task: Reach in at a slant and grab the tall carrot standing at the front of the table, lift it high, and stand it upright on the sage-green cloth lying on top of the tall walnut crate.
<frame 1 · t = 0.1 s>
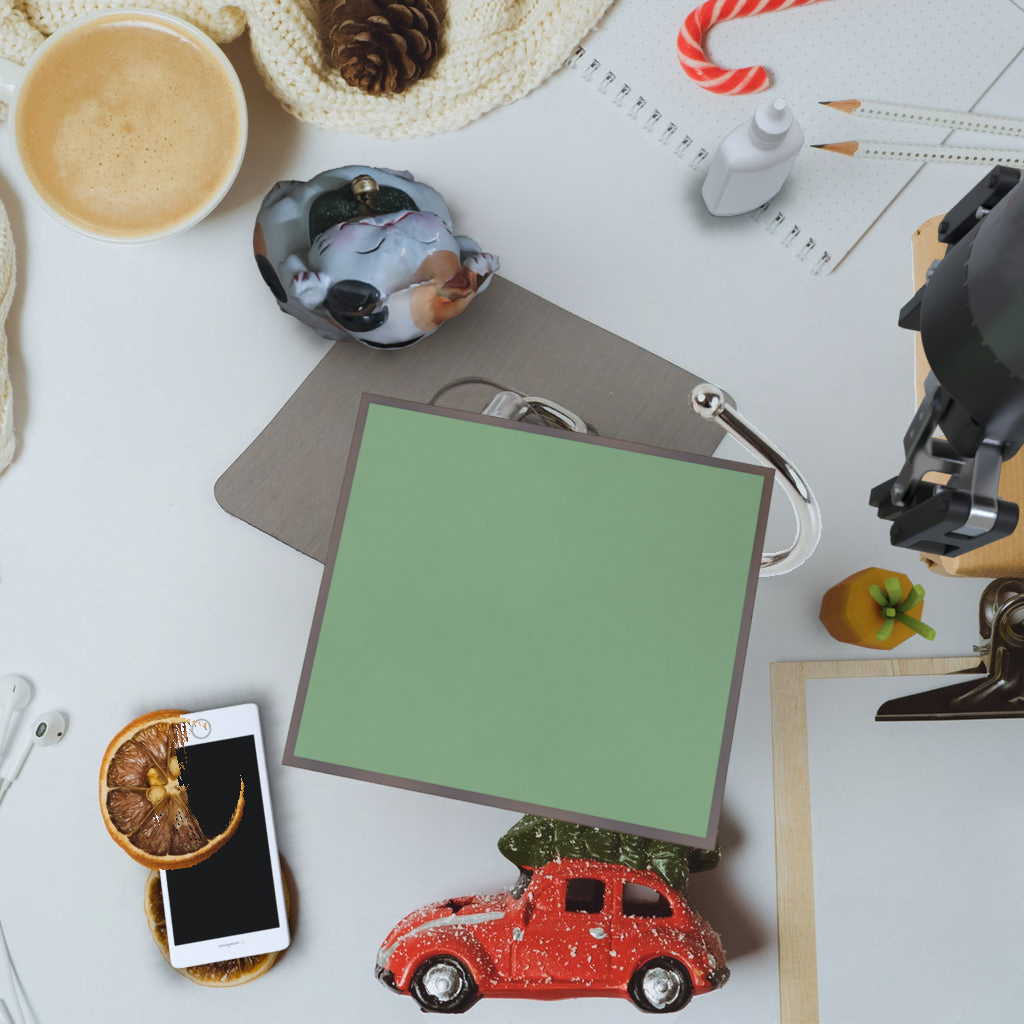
hand: (905, 411, 47), 25 cm above the table, tool pointing down, fingers open, 8 cm apart
cell phone: (218, 831, 70), on the table
cloth: (532, 614, 43), resting on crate
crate: (530, 631, 71), on the table
eye dropper bottle: (739, 193, 76), on the table
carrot: (830, 615, 71), on the table
lucky cat figurine: (385, 277, 75), on the table
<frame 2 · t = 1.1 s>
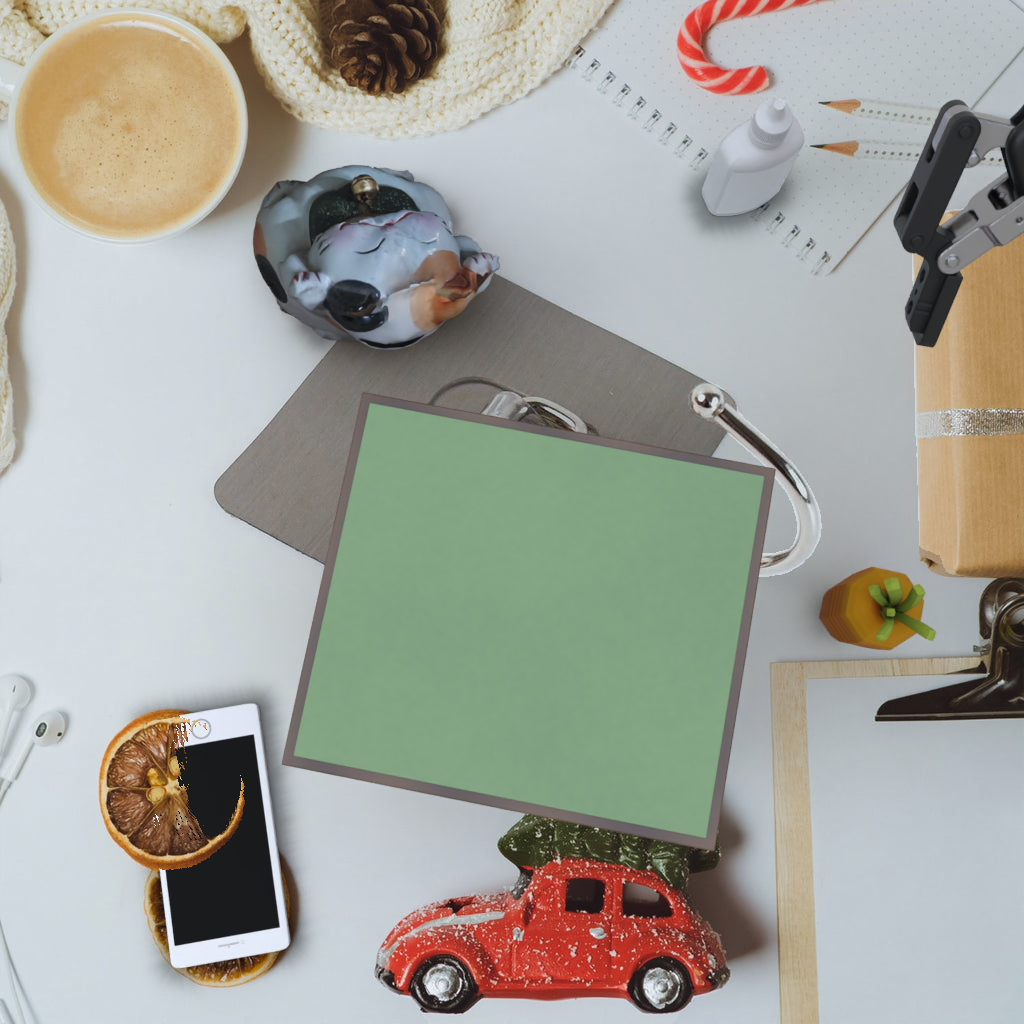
hand: (1011, 354, 49), 24 cm above the table, tool tilted 45°, fingers open, 8 cm apart
nothing on the table moved.
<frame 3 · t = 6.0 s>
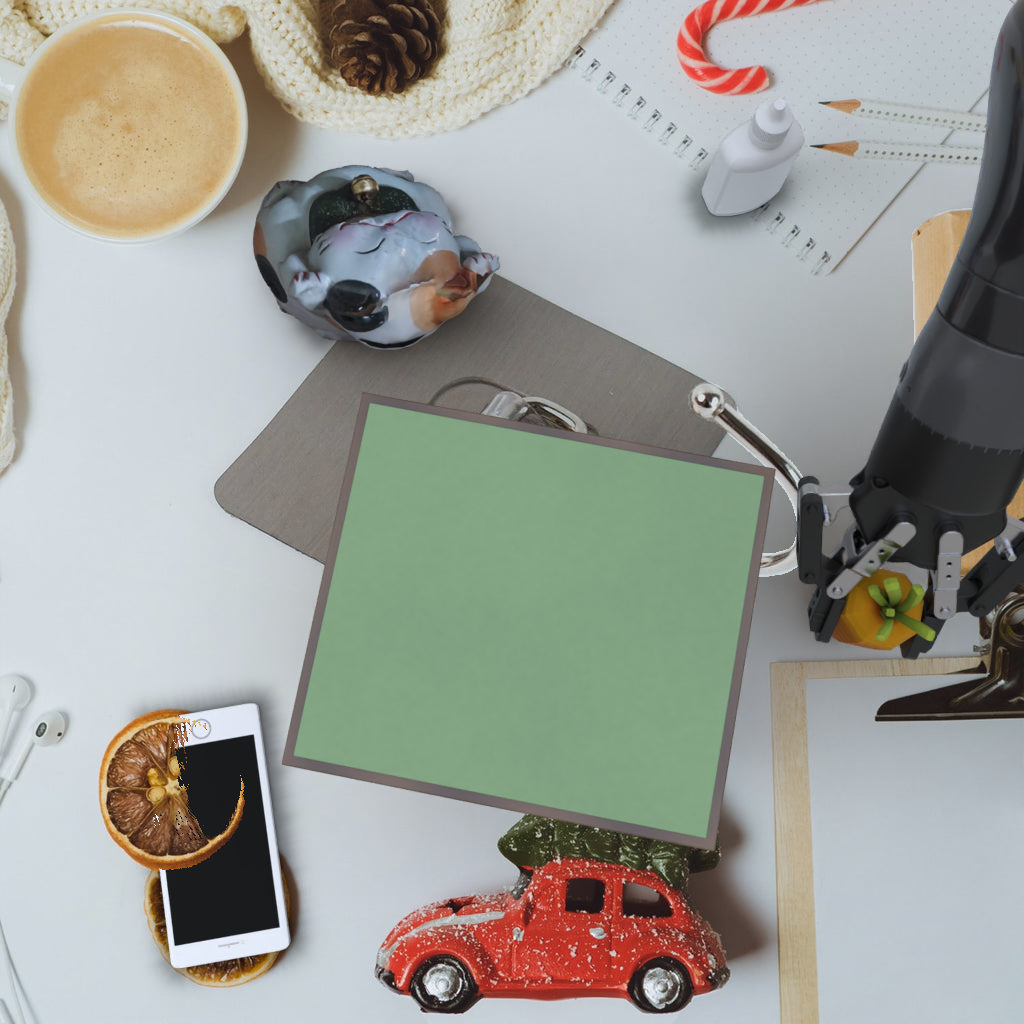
hand: (863, 640, 63), 8 cm above the table, tool tilted 45°, fingers closed on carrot, 4 cm apart
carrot: (830, 615, 71), on the table, touching gripper
everything else where it was.
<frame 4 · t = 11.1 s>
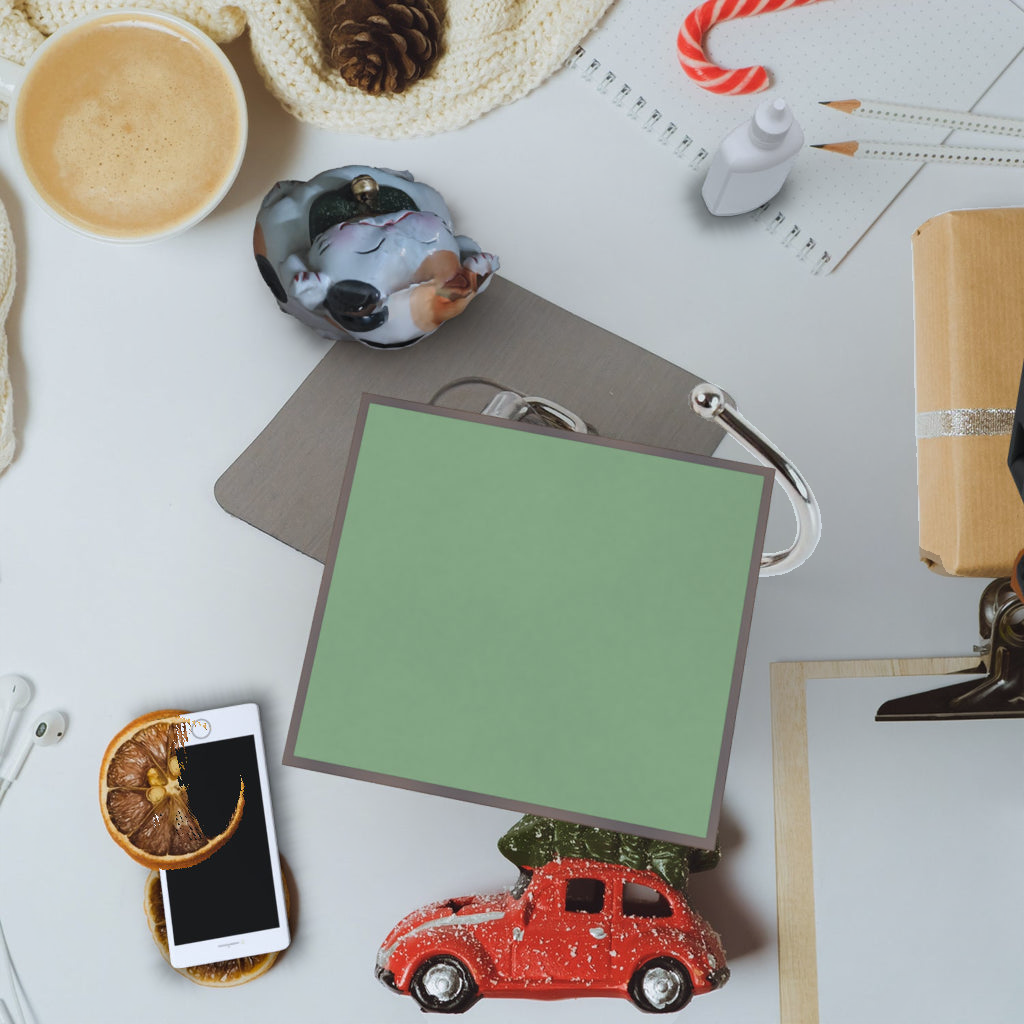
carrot: (1018, 583, 44), point 27 cm above the table, touching gripper
everything else where it was.
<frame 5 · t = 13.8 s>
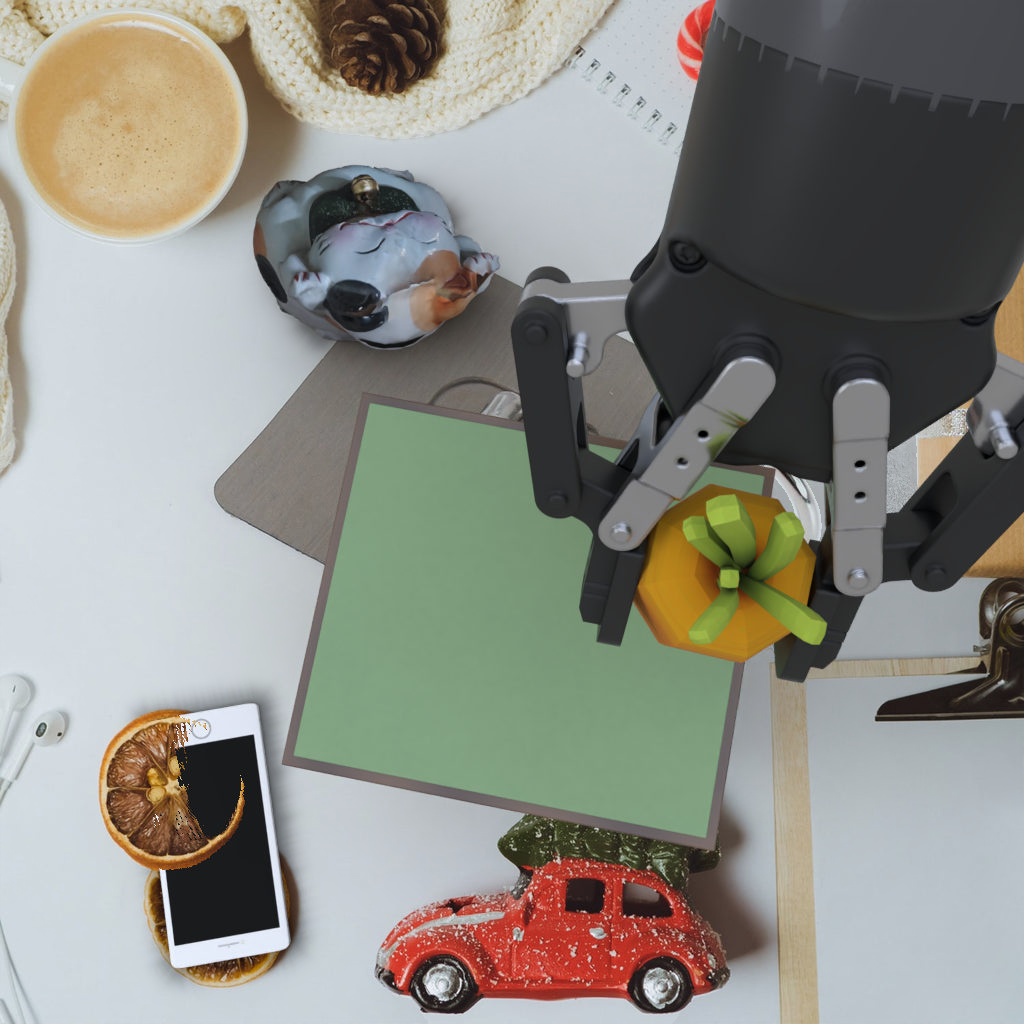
hand: (699, 641, 31), 41 cm above the table, tool tilted 45°, fingers closed on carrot, 4 cm apart
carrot: (672, 592, 39), point 33 cm above the table, touching gripper
everything else where it was.
when the fingers open (36 cm above the table, at t = 16.2 s): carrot stays where it is, resting on cloth.
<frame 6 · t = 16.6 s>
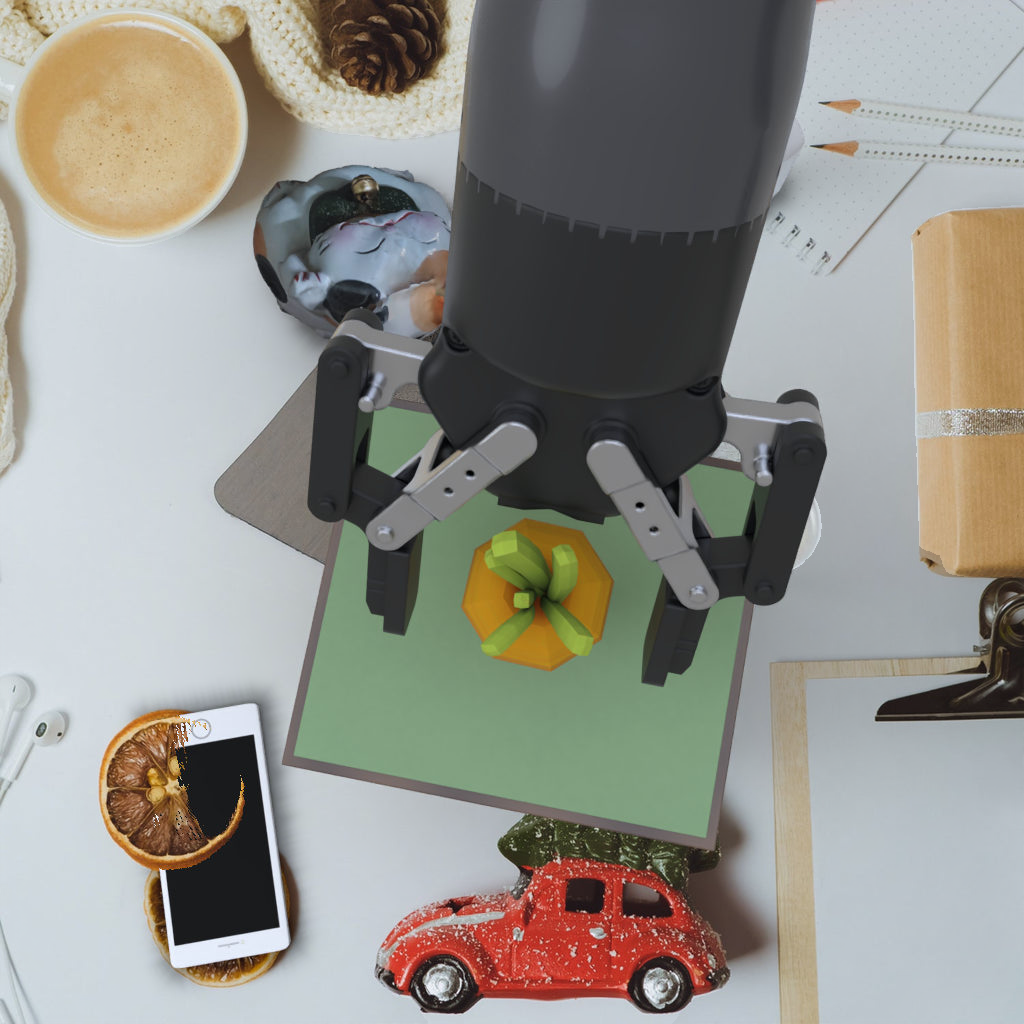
hand: (526, 642, 34), 37 cm above the table, tool tilted 45°, fingers open, 8 cm apart
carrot: (534, 609, 43), point 28 cm above the table, touching cloth
everything else where it was.
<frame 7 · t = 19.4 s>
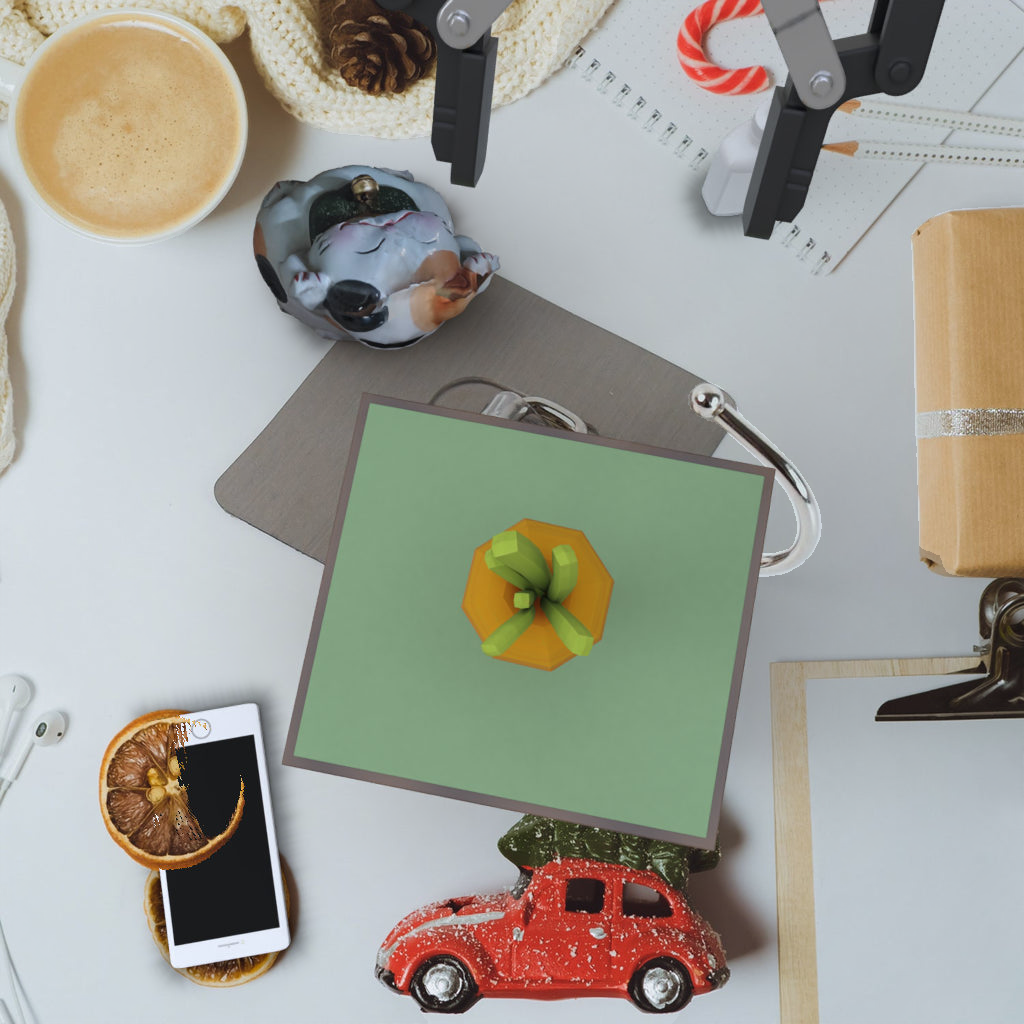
hand: (611, 203, 30), 43 cm above the table, tool tilted 45°, fingers open, 8 cm apart
nothing on the table moved.
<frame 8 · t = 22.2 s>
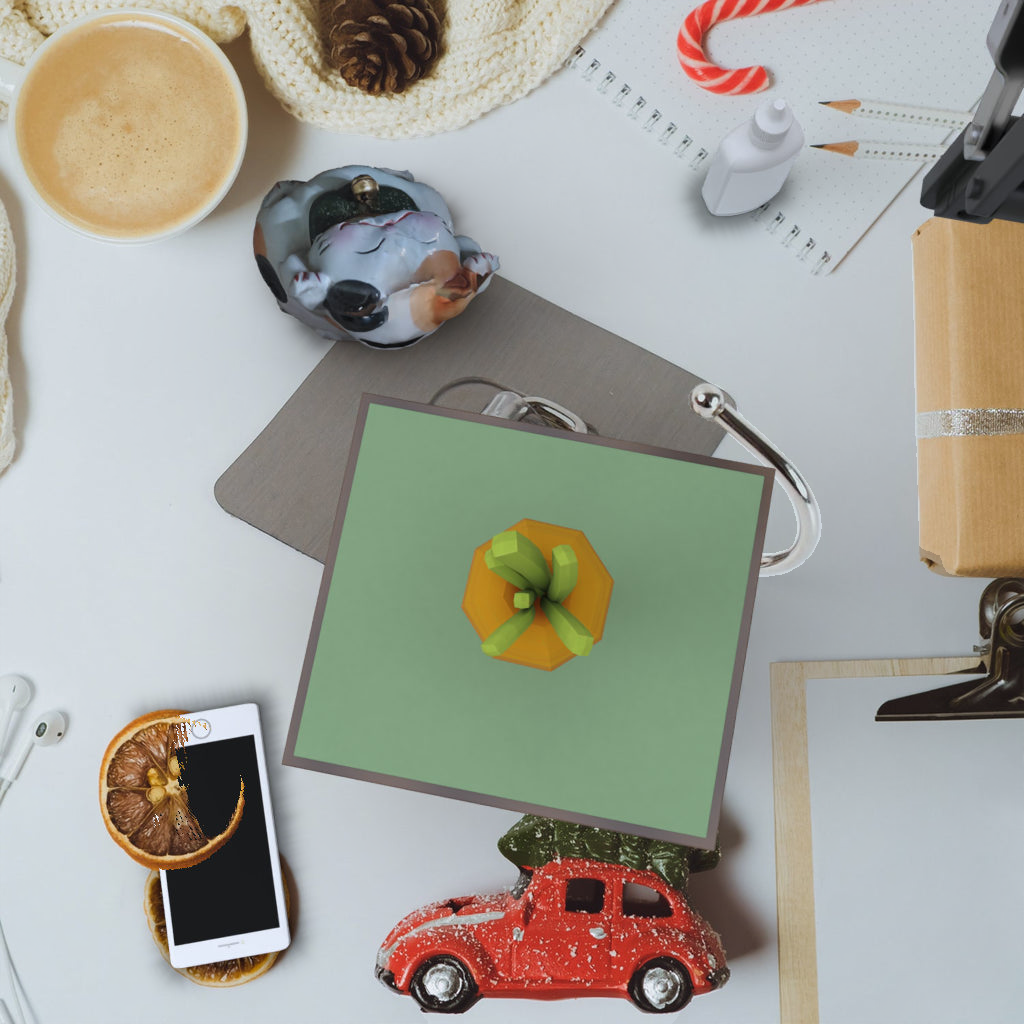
hand: (971, 70, 31), 42 cm above the table, tool pointing down, fingers open, 8 cm apart
nothing on the table moved.
at the end: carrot inside the target area on the cloth (0.2 cm from its centre), point 0.2 cm above the cloth's base; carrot tilted 0°; the gripper is holding nothing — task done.
